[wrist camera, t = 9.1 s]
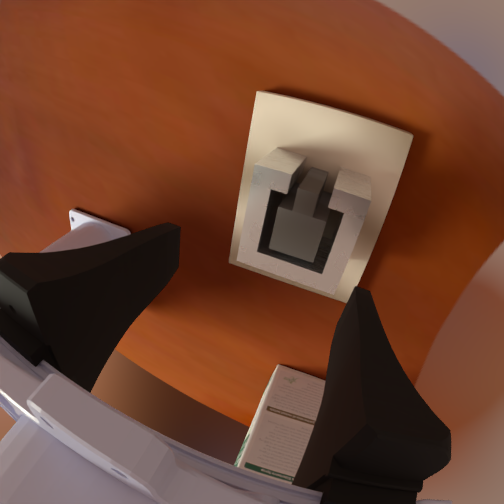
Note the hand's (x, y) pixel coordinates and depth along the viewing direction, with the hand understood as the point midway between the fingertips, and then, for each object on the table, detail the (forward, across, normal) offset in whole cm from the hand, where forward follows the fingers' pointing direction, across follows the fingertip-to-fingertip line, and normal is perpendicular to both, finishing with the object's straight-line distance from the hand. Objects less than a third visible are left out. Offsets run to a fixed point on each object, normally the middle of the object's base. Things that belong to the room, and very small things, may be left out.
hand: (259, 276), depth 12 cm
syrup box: (+10, -5, +19) cm, 22 cm away
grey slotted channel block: (+8, -1, 0) cm, 8 cm away
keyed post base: (+9, -1, 0) cm, 9 cm away
